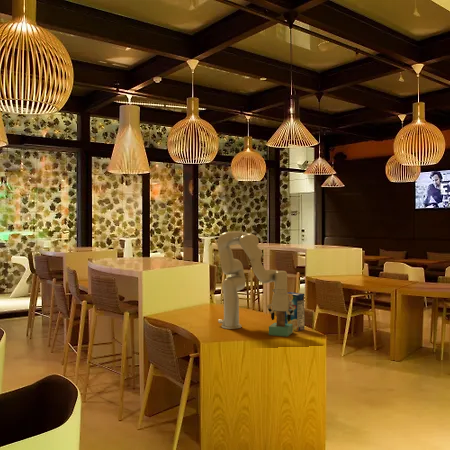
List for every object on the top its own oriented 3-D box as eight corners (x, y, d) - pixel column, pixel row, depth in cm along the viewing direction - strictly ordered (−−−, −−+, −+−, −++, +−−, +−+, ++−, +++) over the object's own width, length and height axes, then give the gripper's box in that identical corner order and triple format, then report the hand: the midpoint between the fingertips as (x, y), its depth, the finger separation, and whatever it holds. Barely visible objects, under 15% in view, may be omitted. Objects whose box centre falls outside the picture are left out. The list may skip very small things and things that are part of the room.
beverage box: (297, 331, 314) (297, 295, 314) (283, 328, 322) (283, 293, 322) (304, 329, 319) (304, 293, 318) (291, 326, 327) (290, 291, 326)
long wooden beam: (276, 333, 307) (276, 309, 307) (278, 331, 311) (278, 308, 311) (283, 333, 306) (283, 310, 305) (284, 332, 309) (284, 308, 309)
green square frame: (268, 334, 305) (268, 326, 305) (274, 330, 316) (274, 322, 316) (287, 336, 301) (287, 328, 301) (292, 332, 311) (292, 324, 311)
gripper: (264, 291, 307) (265, 320, 308) (293, 293, 301) (293, 322, 301) (268, 290, 314) (268, 318, 315) (296, 291, 308) (296, 320, 308)
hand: (280, 320), depth 308 cm, fingers open, 9 cm apart
